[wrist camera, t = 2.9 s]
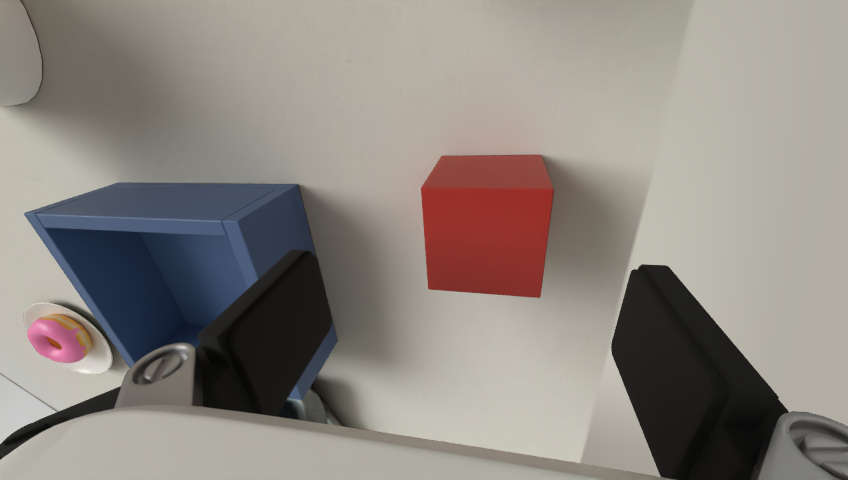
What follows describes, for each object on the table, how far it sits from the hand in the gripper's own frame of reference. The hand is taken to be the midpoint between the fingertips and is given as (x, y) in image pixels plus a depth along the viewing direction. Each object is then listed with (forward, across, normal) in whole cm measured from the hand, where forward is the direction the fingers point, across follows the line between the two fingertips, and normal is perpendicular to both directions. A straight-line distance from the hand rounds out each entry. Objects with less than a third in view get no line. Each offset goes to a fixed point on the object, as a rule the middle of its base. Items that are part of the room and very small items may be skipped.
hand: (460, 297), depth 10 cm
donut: (+8, +37, +15) cm, 41 cm away
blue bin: (+8, +16, +5) cm, 18 cm away
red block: (+7, -1, 0) cm, 7 cm away
